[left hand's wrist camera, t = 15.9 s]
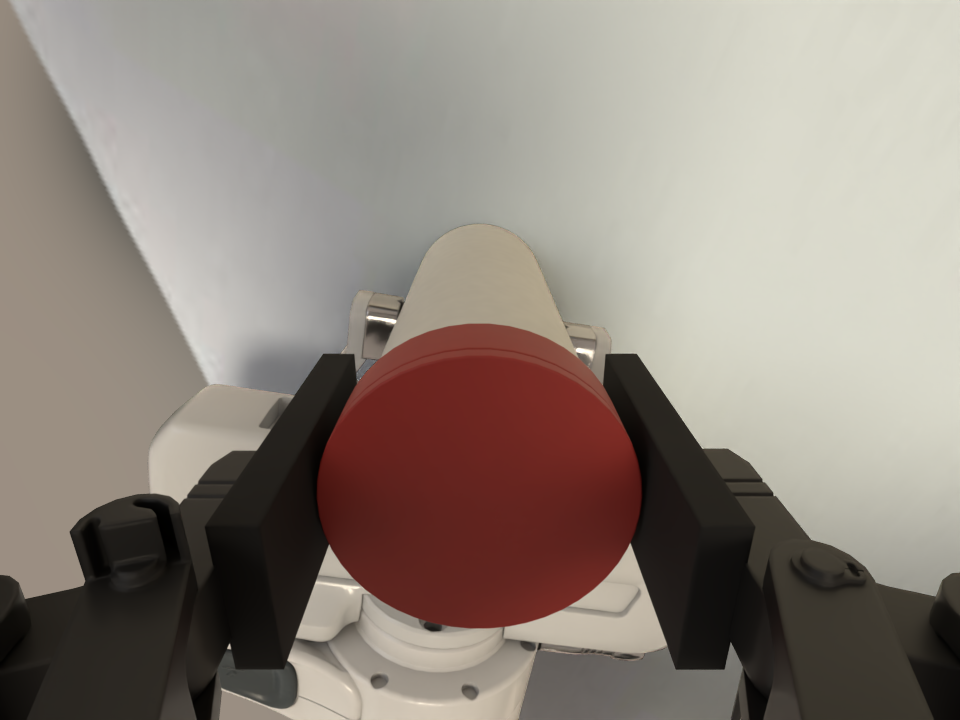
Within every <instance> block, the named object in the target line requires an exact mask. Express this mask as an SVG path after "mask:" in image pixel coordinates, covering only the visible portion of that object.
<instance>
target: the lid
mask: <svg viewBox="0 0 960 720" xmlns="http://www.w3.org/2000/svg"><path fill="white" fill-rule="evenodd" d="M641 503H642V478H641V473H640V468H639V462H638V459H637V456H636V453H635V451H634V448H633V445H632V442H631V440H630V438H629V436H628V434H627V432H626V430H625V428H624V426H623V424H622V422H621V420H620V417H619V415H618V413H617V411H616V409H615V407H614V405H613V403H612V401H611V399H610V397H609V395H608V394H607V392H606V390H605V388H604V386H603V385H602V384H601V382H600V381H599V380H598V378H597V377H596V376H595V374H594V373H593V372H592V371H591V370H590V369H589V368H588V367H587V366H586V365H585V364H584V363H583V362H582V361H581V360H580V359H579V358H578V357H576V356H575V355H574V354H572V353H571V352H570V351H568V350H567V349H565V348H564V347H562V346H560V345H559V344H557V343H555V342H553V341H551V340H550V339H548V338H546V337H543V336H540V335H538V334H535V333H533V332H530V331H527V330H523V329H519V328H515V327H511V326H505V325H497V324H462V325H454V326H447V327H443V328H440V329H436V330H432V331H428V332H426V333H423V334H421V335H418V336H416V337H413V338H411V339H409V340H407V341H405V342H404V343H402V344H400V345H398V346H397V347H395V348H393V349H392V350H391V351H389V352H388V353H387V354H385V355H384V356H383V357H381V358H380V359H379V360H378V361H377V362H376V363H375V364H374V365H373V366H372V367H371V368H370V369H369V370H368V371H367V372H366V373H365V374H364V375H363V377H362V378H361V379H360V381H359V382H358V383H357V385H356V386H355V388H354V390H353V391H352V393H351V395H350V397H349V399H348V401H347V403H346V405H345V407H344V409H343V411H342V413H341V415H340V417H339V419H338V421H337V423H336V425H335V427H334V429H333V432H332V434H331V436H330V438H329V440H328V442H327V444H326V447H325V450H324V453H323V455H322V458H321V461H320V466H319V471H318V477H317V505H318V513H319V517H320V521H321V524H322V528H323V531H324V534H325V536H326V539H327V541H328V543H329V545H330V547H331V549H332V551H333V552H334V554H335V556H336V557H337V559H338V560H339V562H340V563H341V565H342V566H343V567H344V568H345V570H346V571H347V572H348V573H349V574H350V575H351V577H352V578H353V579H354V580H355V581H356V582H358V583H359V584H360V585H361V586H362V587H363V588H364V589H365V590H366V591H368V592H369V593H370V594H372V595H373V596H375V597H376V598H377V599H379V600H380V601H382V602H384V603H385V604H387V605H389V606H391V607H393V608H394V609H396V610H398V611H400V612H403V613H405V614H407V615H410V616H412V617H415V618H418V619H421V620H424V621H428V622H431V623H435V624H440V625H445V626H450V627H459V628H470V629H489V628H499V627H509V626H514V625H519V624H524V623H528V622H531V621H534V620H538V619H541V618H544V617H547V616H549V615H551V614H554V613H556V612H558V611H561V610H563V609H565V608H566V607H568V606H570V605H572V604H573V603H575V602H577V601H579V600H580V599H581V598H583V597H584V596H585V595H587V594H588V593H590V592H591V591H592V590H594V589H595V588H596V587H597V586H598V585H599V584H600V583H601V582H602V581H603V580H604V579H605V578H607V576H608V575H609V574H610V573H611V572H612V570H613V569H614V568H615V567H616V566H617V564H618V563H619V562H620V560H621V558H622V557H623V555H624V554H625V552H626V550H627V549H628V547H629V545H630V542H631V540H632V538H633V536H634V533H635V531H636V527H637V523H638V520H639V516H640V511H641Z"/></svg>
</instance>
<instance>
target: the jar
mask: <svg viewBox="0 0 960 720" xmlns="http://www.w3.org/2000/svg"><path fill="white" fill-rule="evenodd" d="M462 324H497V325H505V326H511V327H515V328H519V329H523V330H527V331H530V332H533V333H535V334H538V335H540V336H543V337H546V338H548V339H550V340H551V341H553V342H555V343H557V344H559V345H560V346H562V347H564V348H565V349H567V350H568V351H570V352H571V353H572V354H574V355H575V356H576V357H578V356H577V354H576V351H575V349H574V347H573V344H572V342H571V340H570V337H569V335H568V333H567V330H566V328H565V325H564V323H563V321H562V318H561V316H560V314H559V311H558V309H557V307H556V304H555V302H554V300H553V297H552V295H551V293H550V290H549V288H548V286H547V283H546V281H545V279H544V276H543V274H542V272H541V269H540V267H539V265H538V262H537V260H536V258H535V256H534V254H533V253H532V251H531V250H530V248H529V247H528V246H527V245H526V244H525V243H524V242H523V241H522V240H521V239H520V238H519V237H517V236H516V235H515V234H513V233H511V232H510V231H508V230H506V229H503V228H501V227H497V226H494V225H488V224H471V225H465V226H462V227H458V228H456V229H453V230H451V231H449V232H448V233H446V234H444V235H443V236H442V237H440V238H439V239H438V240H437V241H436V242H435V243H434V244H433V245H432V246H431V247H430V249H429V250H428V251H427V253H426V255H425V256H424V258H423V260H422V262H421V265H420V267H419V269H418V272H417V274H416V276H415V279H414V281H413V283H412V286H411V288H410V290H409V293H408V295H407V297H406V300H405V302H404V304H403V307H402V309H401V311H400V314H399V316H398V318H397V321H396V323H395V325H394V328H393V330H392V332H391V335H390V337H389V339H388V342H387V344H386V346H385V349H384V351H383V353H382V356H381V357H383V356H384V355H385V354H387V353H388V352H389V351H391V350H392V349H393V348H395V347H397V346H398V345H400V344H402V343H404V342H405V341H407V340H409V339H411V338H413V337H416V336H418V335H421V334H423V333H426V332H428V331H432V330H436V329H440V328H443V327H447V326H454V325H462Z"/></svg>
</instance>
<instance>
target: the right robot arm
mask: <svg viewBox="0 0 960 720" xmlns="http://www.w3.org/2000/svg"><path fill="white" fill-rule="evenodd" d="M403 304H404V297H399V296H393V295H387V294H381V293H376V292H373V291H363V290H359V292H358V293H357V294H356V296H355V297H354V299H353V302H352V306H351V310H350V317H349V329H348V341H347V346H346V347H345V348H344V350H343V351H342V352H341V353H340V354H354V355H355V366H356V372H357V371H358V370H359V368H360V367H361V366H362V365H363V363H364V362H365V361H366V359H374V360H379V359H380V358H381V356H382V353H383V351H384V349H385V346H386V344H387V342H388V339H389V337H390V335H391V332H392V330H393V328H394V325H395V323H396V321H397V318H398V316H399V314H400V311H401V309H402V307H403ZM563 323H564V325H565V328H566V330H567V333H568V335H569V337H570V340H571V342H572V344H573V347H574V349H575V351H576V354H577V356H578V358H579V359H580V360H581V361H582V362H583V363H584V364H585V365H586V366H587V367H588V368H589V369H590V370H591V371H592V372H593V373H594V374H595V376H596V377H597V378H598V380H599V381H600V382H601V384H602V385H603V377H604V366H605V355H606V354H611V337H610V336H609V334H608V333H607V331H606V330H605V328H602V327H595V326H589V325H583V324H576V323H569V322H563ZM358 382H359V381H357V383H358ZM294 396H295V395H291V394H284V393H277V392H270V391H263V390H256V389H249V388H242V387H235V386H229V385H222V384H213V385H210V386H207V387H205V388H204V389H202V390H201V391H200V392H198V393H197V394H196V395H195V396H193V397H192V398H191V399H189V400H188V401H187V402H186V403H184V404H183V405H182V406H181V407H180V408H178V409H177V410H176V411H175V412H174V413H173V414H172V415H171V416H170V417H169V418H168V420H167V421H166V422H165V423H164V424H163V425H162V426H161V427H160V429H159V430H158V431H157V433H156V434H155V436H154V438H153V440H152V442H151V444H150V447H149V453H148V480H149V492H150V494H152V493H156V494H161V495H167V496H170V497H172V498H173V499H174V500H176V501H177V502H178V503H179V504H180V503H181V502H182V501H183V499H184V498H187V494H188V493H189V492H190V491H191V489H192V488H193V487H194V486H195V484H198V481H199V479H200V478H201V477H202V476H203V474H204V473H205V472H206V470H207V469H208V468H209V467H210V465H211V464H213V463H214V462H216V461H218V460H219V459H221V458H222V457H224V456H225V455H227V454H228V453H230V452H231V451H257V449H258V448H259V447H260V445H261V444H262V442H263V441H264V439H265V438H266V436H267V435H268V433H269V432H270V431H271V429H272V428H273V426H274V425H275V423H276V422H277V420H278V419H279V418H280V416H281V415H282V413H283V412H284V410H285V409H286V407H287V406H288V404H289V403H290V402H291V400H292V399H293V397H294ZM666 647H668V646H667V643H666V641H665V638H664V635H663V632H662V629H661V627H660V624H659V621H658V618H657V616H656V613H655V610H654V607H653V605H652V602H651V599H650V596H649V593H648V591H647V588H646V585H645V582H644V580H643V577H642V574H641V571H640V569H639V566H638V563H637V560H636V557H635V555H634V552H633V549H632V546H631V544H630V545H629V547H628V549H627V550H626V552H625V554H624V555H623V557H622V558H621V560H620V562H619V563H618V564H617V566H616V567H615V568H614V569H613V570H612V572H611V573H610V574H609V575H608V576H607V578H605V579H604V580H603V581H602V582H601V583H600V584H599V585H598V586H597V587H596V588H595V589H594V590H592V591H591V592H590V593H588V594H587V595H585V596H584V597H583V598H581V599H580V600H579V601H577V602H575V603H573V604H572V605H570V606H568V607H566V608H565V609H563V610H561V611H558V612H556V613H554V614H551V615H549V616H547V617H544V618H541V619H538V620H534V621H531V622H528V623H524V624H519V625H514V626H509V627H499V628H489V629H470V628H459V627H450V626H445V625H440V624H435V623H431V622H428V621H424V620H421V619H418V618H415V617H412V616H410V615H407V614H405V613H403V612H400V611H398V610H396V609H394V608H393V607H391V606H389V605H387V604H385V603H384V602H382V601H380V600H379V599H377V598H376V597H375V596H373V595H372V594H370V593H369V592H368V591H366V590H365V589H364V588H363V587H362V586H361V585H360V584H359V583H358V582H356V581H355V580H354V579H353V578H352V577H351V575H350V574H349V573H348V572H347V571H346V570H345V568H344V567H343V566H342V565H341V563H340V562H339V560H338V559H337V557H336V556H335V554H334V552H333V551H332V549H331V547H330V545H329V546H328V549H327V552H326V555H325V557H324V560H323V563H322V566H321V568H320V571H319V574H318V577H317V580H316V582H315V585H314V588H313V591H312V593H311V596H310V599H309V602H308V605H307V607H306V610H305V613H304V616H303V618H302V621H301V624H300V627H299V629H298V632H297V635H296V638H295V641H294V643H293V646H292V649H291V652H290V654H289V657H288V660H287V663H286V665H285V668H284V670H236V669H235V665H234V660H233V656H232V651H231V646H230V644H229V646H228V648H227V650H226V652H225V654H224V656H223V658H222V660H221V662H220V665H219V667H218V673H219V678H220V683H221V690H222V691H225V692H227V693H230V694H233V695H236V696H239V697H241V698H244V699H247V700H249V701H252V702H254V703H257V704H259V705H262V706H264V707H267V708H269V709H271V710H273V711H275V712H278V713H280V714H282V715H284V716H286V717H288V718H290V719H292V720H518V719H519V715H520V711H521V708H522V704H523V700H524V696H525V693H526V689H527V685H528V682H529V678H530V674H531V670H532V667H533V663H534V659H535V656H536V652H537V650H540V651H542V650H543V651H548V652H557V653H565V654H578V655H580V654H582V655H584V654H596V655H604V656H609V657H610V658H613V659H616V660H624V661H635V660H641V659H643V657H644V654H645V653H647V652H654V651H659V650H662V649H664V648H666Z"/></svg>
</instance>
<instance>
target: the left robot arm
mask: <svg viewBox="0 0 960 720" xmlns="http://www.w3.org/2000/svg"><path fill="white" fill-rule="evenodd" d="M356 385H357V378H356V366H355V355H354V354H323V355H322V357H321V358H320V359H319V361H318V362H317V364H316V365H315V367H314V368H313V370H312V371H311V373H310V374H309V375H308V377H307V378H306V380H305V381H304V383H303V384H302V386H301V387H300V388H299V390H298V391H297V393H296V394H295V396H294V397H293V399H292V400H291V402H290V403H289V404H288V406H287V407H286V409H285V410H284V412H283V413H282V415H281V416H280V418H279V419H278V420H277V422H276V423H275V425H274V426H273V428H272V429H271V431H270V432H269V433H268V435H267V436H266V438H265V439H264V441H263V442H262V444H261V445H260V447H259V448H258V449H257V451H231V452H230V453H228V454H227V455H225V456H224V457H222V458H221V459H219V460H218V461H216V462H214V463H213V464H211V465H210V467H209V468H208V469H207V470H206V472H205V473H204V474H203V476H202V477H201V478H200V479H199V481H198V484H195V486H194V487H193V488H192V489H191V491H190V492H189V493H188V494H187V498H184V499H183V501H182V502H181V503H180V504H179V503H178V502H177V501H176V500H174V499H173V498H172V497H170V496H167V495H161V494H156V493H152V494H137V495H133V496H129V497H125V498H121V499H117V500H114V501H112V502H110V503H107V504H105V505H103V506H100V507H98V508H96V509H94V510H93V511H92V512H90V513H89V514H87V515H86V516H84V517H83V518H81V519H80V520H79V521H78V522H77V523H76V525H75V526H74V527H73V528H72V529H71V531H70V535H71V538H72V541H73V544H74V547H75V550H76V553H77V556H78V559H79V562H80V565H81V569H82V571H83V575H84V578H85V583H84V586H81V587H78V588H74V589H69V590H65V591H60V592H56V593H51V594H47V595H42V596H37V597H33V598H28V599H25V598H24V595H23V593H22V590H21V588H20V585H19V583H18V582H17V581H16V580H14V579H13V578H11V577H10V576H5V575H0V720H219V714H220V704H221V694H222V690H221V683H220V678H219V673H218V667H219V665H220V662H221V660H222V658H223V656H224V654H225V652H226V650H227V648H228V646H229V644H230V646H231V651H232V656H233V660H234V665H235V669H236V670H284V668H285V665H286V663H287V660H288V657H289V654H290V652H291V649H292V646H293V643H294V641H295V638H296V635H297V632H298V629H299V627H300V624H301V621H302V618H303V616H304V613H305V610H306V607H307V605H308V602H309V599H310V596H311V593H312V591H313V588H314V585H315V582H316V580H317V577H318V574H319V571H320V568H321V566H322V563H323V560H324V557H325V555H326V552H327V549H328V546H329V543H328V541H327V539H326V536H325V534H324V531H323V528H322V524H321V521H320V517H319V513H318V505H317V477H318V471H319V466H320V461H321V458H322V455H323V453H324V450H325V447H326V444H327V442H328V440H329V438H330V436H331V434H332V432H333V429H334V427H335V425H336V423H337V421H338V419H339V417H340V415H341V413H342V411H343V409H344V407H345V405H346V403H347V401H348V399H349V397H350V395H351V393H352V391H353V390H354V388H355V386H356ZM603 386H604V388H605V390H606V392H607V394H608V395H609V397H610V399H611V401H612V403H613V405H614V407H615V409H616V411H617V413H618V415H619V417H620V420H621V422H622V424H623V426H624V428H625V430H626V432H627V434H628V436H629V438H630V440H631V442H632V445H633V448H634V451H635V453H636V456H637V459H638V462H639V468H640V473H641V478H642V503H641V511H640V516H639V520H638V523H637V527H636V531H635V533H634V536H633V538H632V540H631V542H630V544H631V546H632V549H633V552H634V555H635V557H636V560H637V563H638V566H639V569H640V571H641V574H642V577H643V580H644V582H645V585H646V588H647V591H648V593H649V596H650V599H651V602H652V605H653V607H654V610H655V613H656V616H657V618H658V621H659V624H660V627H661V629H662V632H663V635H664V638H665V641H666V643H667V646H668V649H669V652H670V654H671V657H672V660H673V663H674V665H675V668H676V670H724V669H725V665H726V660H727V655H728V651H729V646H730V642H731V643H732V645H733V647H734V649H735V651H736V653H737V655H738V657H739V659H740V662H741V664H742V666H743V669H742V673H741V678H740V682H739V686H738V691H737V695H736V699H735V703H734V708H733V712H732V717H731V720H740V718H741V720H960V573H952V574H950V575H949V576H947V577H946V578H945V579H943V580H942V582H941V585H940V587H939V590H938V593H937V595H936V597H934V596H930V595H925V594H921V593H916V592H911V591H907V590H902V589H898V588H893V587H888V586H885V585H881V584H877V583H876V582H875V580H874V579H873V577H872V576H871V574H870V573H869V572H868V570H867V569H866V567H865V566H863V565H862V564H861V563H859V562H858V561H857V560H856V559H854V558H853V557H852V556H850V555H849V554H847V553H845V552H843V551H841V550H839V549H837V548H835V547H833V546H830V545H827V544H823V543H820V542H816V541H813V540H811V539H810V538H809V537H808V536H807V534H806V533H805V532H804V531H803V529H802V528H801V527H800V526H799V524H798V523H797V522H796V521H795V519H794V518H793V517H792V516H791V514H790V513H789V512H788V511H787V509H786V508H785V507H784V506H783V504H782V503H781V502H780V501H779V499H778V498H777V497H776V496H773V492H772V491H771V489H770V488H769V487H768V486H767V484H766V483H763V482H762V478H761V477H760V476H759V474H758V473H757V472H756V471H755V469H754V468H753V467H752V466H751V464H750V463H749V462H747V461H746V460H744V459H743V458H741V457H740V456H738V455H736V454H735V453H733V452H732V451H730V450H729V449H702V448H701V447H700V445H699V444H698V442H697V441H696V439H695V438H694V436H693V435H692V433H691V432H690V431H689V429H688V428H687V426H686V425H685V423H684V422H683V420H682V419H681V418H680V416H679V415H678V413H677V412H676V410H675V409H674V407H673V406H672V404H671V403H670V402H669V400H668V399H667V397H666V396H665V394H664V393H663V391H662V390H661V388H660V387H659V386H658V384H657V383H656V381H655V380H654V378H653V377H652V375H651V374H650V373H649V371H648V370H647V368H646V367H645V365H644V364H643V362H642V361H641V359H640V358H639V357H638V355H637V354H606V355H605V366H604V377H603Z"/></svg>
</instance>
